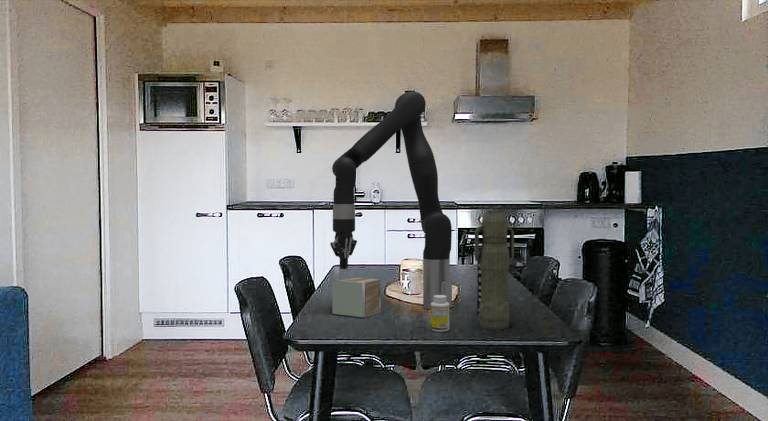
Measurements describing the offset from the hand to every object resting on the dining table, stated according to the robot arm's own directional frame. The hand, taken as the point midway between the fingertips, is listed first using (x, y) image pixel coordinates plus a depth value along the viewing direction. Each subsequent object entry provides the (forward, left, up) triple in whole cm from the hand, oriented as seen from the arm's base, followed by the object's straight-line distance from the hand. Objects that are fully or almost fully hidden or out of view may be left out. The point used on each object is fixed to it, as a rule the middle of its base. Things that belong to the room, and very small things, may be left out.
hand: (343, 268), depth 222 cm
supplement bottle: (-40, +8, -15) cm, 43 cm away
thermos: (-52, -5, -15) cm, 54 cm away
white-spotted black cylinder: (-45, -19, -15) cm, 51 cm away
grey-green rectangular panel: (-5, +4, -15) cm, 16 cm away
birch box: (-5, -1, -15) cm, 15 cm away
